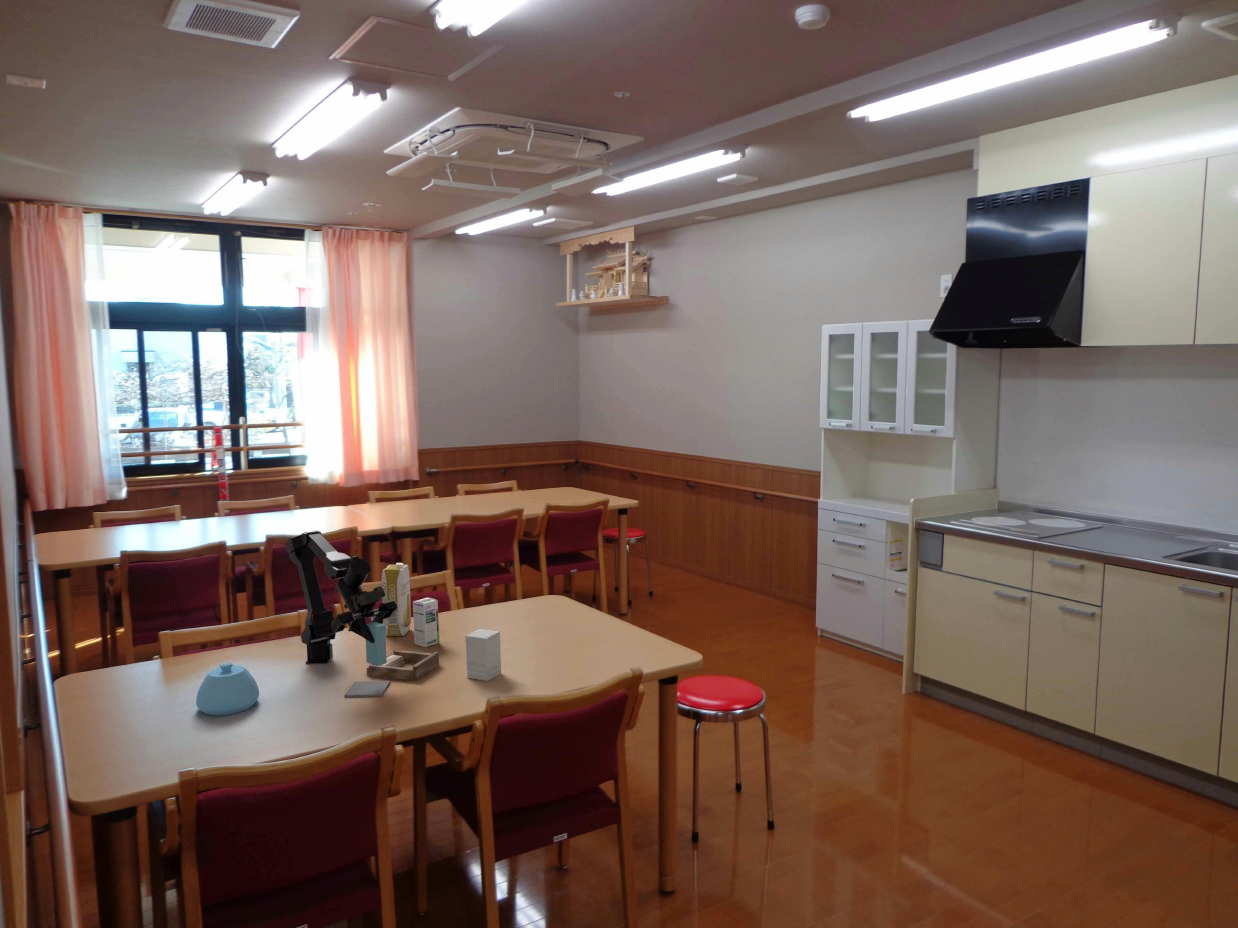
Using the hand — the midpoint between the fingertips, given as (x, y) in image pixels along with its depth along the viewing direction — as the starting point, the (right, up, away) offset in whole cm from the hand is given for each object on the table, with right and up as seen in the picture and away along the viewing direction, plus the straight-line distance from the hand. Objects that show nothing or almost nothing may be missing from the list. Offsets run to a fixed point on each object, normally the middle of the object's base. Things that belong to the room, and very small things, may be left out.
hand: (378, 640), depth 227 cm
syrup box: (+4, -10, +39) cm, 41 cm away
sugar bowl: (-37, -15, -10) cm, 41 cm away
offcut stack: (-2, -12, +17) cm, 21 cm away
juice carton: (-8, -8, +51) cm, 52 cm away
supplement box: (+28, -13, +10) cm, 32 cm away
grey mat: (-3, -14, 0) cm, 14 cm away
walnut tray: (+3, -12, +16) cm, 20 cm away
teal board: (-1, -7, +2) cm, 7 cm away
